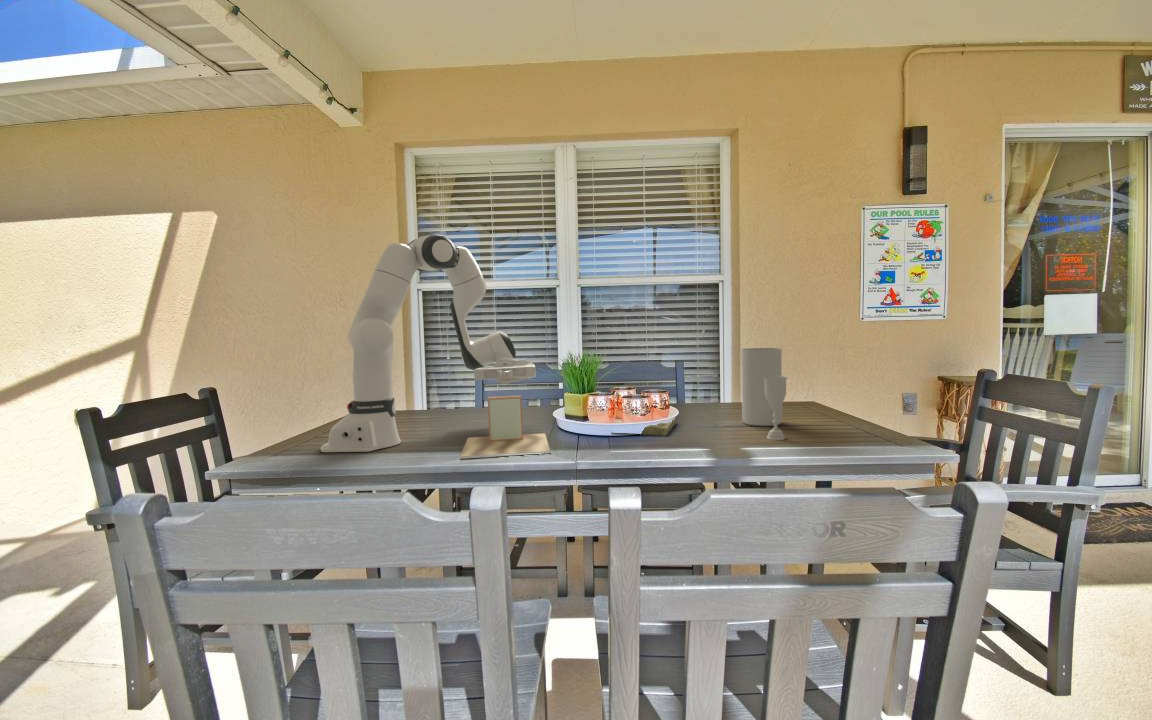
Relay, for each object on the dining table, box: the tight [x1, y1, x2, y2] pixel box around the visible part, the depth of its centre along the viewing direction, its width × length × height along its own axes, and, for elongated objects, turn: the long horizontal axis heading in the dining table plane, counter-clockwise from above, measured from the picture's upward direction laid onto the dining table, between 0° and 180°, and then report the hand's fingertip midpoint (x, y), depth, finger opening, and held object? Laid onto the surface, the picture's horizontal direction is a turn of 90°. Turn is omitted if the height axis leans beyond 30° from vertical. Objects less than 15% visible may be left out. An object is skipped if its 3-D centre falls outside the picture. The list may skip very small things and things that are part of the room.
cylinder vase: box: [741, 347, 783, 427], centre depth 169 cm, size 12×12×25 cm
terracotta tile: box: [487, 394, 524, 442], centre depth 153 cm, size 10×3×13 cm, turn 97°
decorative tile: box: [640, 417, 676, 437], centre depth 168 cm, size 19×20×4 cm
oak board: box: [459, 433, 551, 461], centre depth 147 cm, size 24×24×1 cm
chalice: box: [763, 375, 789, 441], centre depth 147 cm, size 7×7×18 cm
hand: (504, 374), depth 161 cm, fingers closed
